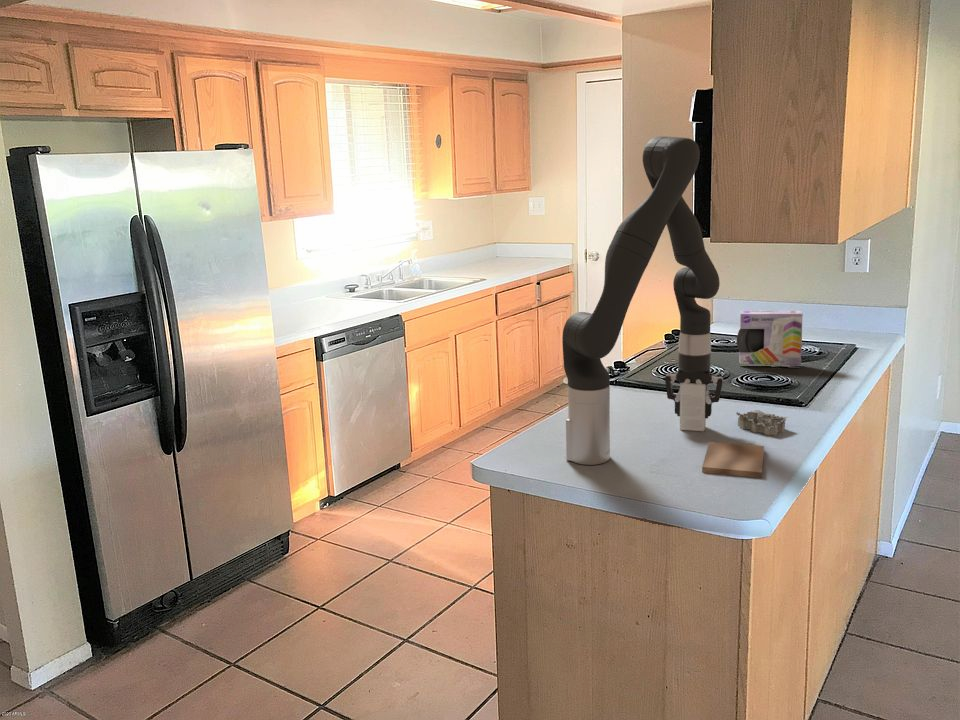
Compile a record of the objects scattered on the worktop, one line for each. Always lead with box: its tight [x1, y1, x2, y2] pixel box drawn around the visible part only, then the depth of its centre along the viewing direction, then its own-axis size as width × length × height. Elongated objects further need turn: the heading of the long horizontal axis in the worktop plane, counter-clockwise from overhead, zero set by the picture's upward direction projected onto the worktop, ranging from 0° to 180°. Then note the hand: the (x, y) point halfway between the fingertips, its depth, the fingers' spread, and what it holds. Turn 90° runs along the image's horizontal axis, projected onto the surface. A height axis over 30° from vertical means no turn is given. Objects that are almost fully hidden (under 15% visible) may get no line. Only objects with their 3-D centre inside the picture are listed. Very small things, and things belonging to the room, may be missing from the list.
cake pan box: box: [736, 309, 803, 366], centre depth 248 cm, size 19×5×18 cm, turn 73°
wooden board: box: [701, 441, 765, 478], centre depth 175 cm, size 12×16×1 cm
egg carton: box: [736, 409, 788, 436], centre depth 195 cm, size 11×8×4 cm
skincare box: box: [679, 383, 707, 432], centre depth 196 cm, size 6×4×12 cm
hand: (693, 416), depth 197 cm, fingers closed on skincare box, 6 cm apart
